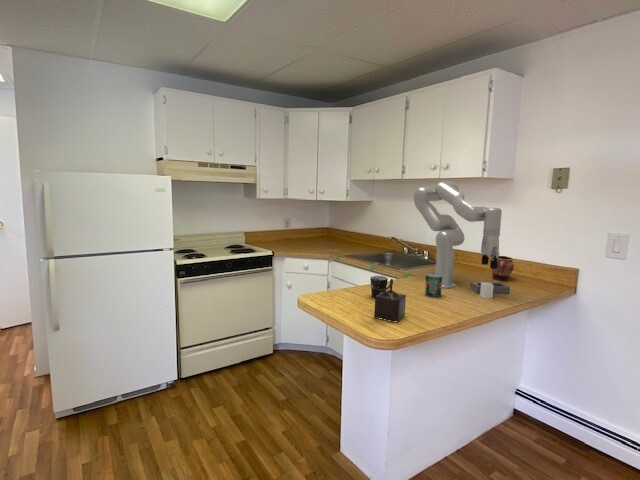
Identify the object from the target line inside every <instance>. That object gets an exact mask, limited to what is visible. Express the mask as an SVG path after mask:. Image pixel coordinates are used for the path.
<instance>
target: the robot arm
mask: <svg viewBox="0 0 640 480" xmlns="http://www.w3.org/2000/svg"><path fill="white" fill-rule="evenodd" d="M459 189H460V188H459V186H458V184H457V183H456V182H454V181H445V180H444V181H439V182H437V183H436V184H435V186H421V187H418V188H417V189H416V190H415V191H414V193H413V203H414V205H415V208H416V209H417V210H418V212H419V213H420V214H421V215H422V218H423V220H424V221H425V222H426V224H427V226H428V227H429V228H430V230H431V231H433V232H438V233H437V234H436V236H435V247H436V256H435V257H436V259H435V273H437V274H441V275H442V288H443V289H451V288H455V287H456V283H454V281H453V280H454V266H455V251H454V247H457V246H461V245H462V244H463V243H464V241H465V234H464V232H463V230H462V229H461V227H460V226H459V224H458V223H457V222H456V220H455V219H454V218H453V217H452V216H451V215H449V214H445V213H444V214H441V213H440V212H439V211H438V210H437V208H436V206H434V205H433V204H432V203H431V202H437V201H438V202H439V201H443V200H444V201H445V202H446V203H448V204H449V205H450V206H452V208H453V210H454V212H455V213H456V214H457V215H458V216H459V217H461V218H462V219H464V220H465V221H467V222H470V223H471V222H472V223H475V222H476V223H477V222H483V232H482V240H481V246H480V247H481V249H480V253H481V265H486V266H487V265H489V259H490V266H489V268H490V269H491V270H492V269H497V263H498V258H499V256H500V250H499V249H500V236H501V225H502V224H501V223H502V209H501V208H499V207H487V206H472V205H470V204H469V203H467V202H466V201H465V193H464V192H462V191H460V190H459Z"/></svg>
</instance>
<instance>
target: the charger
mask: <svg viewBox="0 0 640 480" xmlns="http://www.w3.org/2000/svg"><path fill="white" fill-rule="evenodd" d="M480 282H481V281H480ZM491 283H492V282H487V281H486V282H481V289H480V293H479V296H480V297H481V298H483V299H493V297H494V293H493V286H494V285H493V284H491Z"/></svg>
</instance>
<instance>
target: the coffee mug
mask: <svg viewBox="0 0 640 480" xmlns="http://www.w3.org/2000/svg"><path fill="white" fill-rule="evenodd" d="M373 278H377V279H379V280H380V284H379V285H378V287H379V289H385V288H387V287H388V279H389V278H388V276H384V275H373V276H370V280H369V281H371V279H373ZM372 287H373V286H372V285H371V284H370V289H371V290H370V291H371V292H370V293H371V298H372V297H374V298H375V296H377V295H378V294H379V293H380V292H383V291H378V290H373V289H372ZM374 298H373V299H374Z"/></svg>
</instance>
